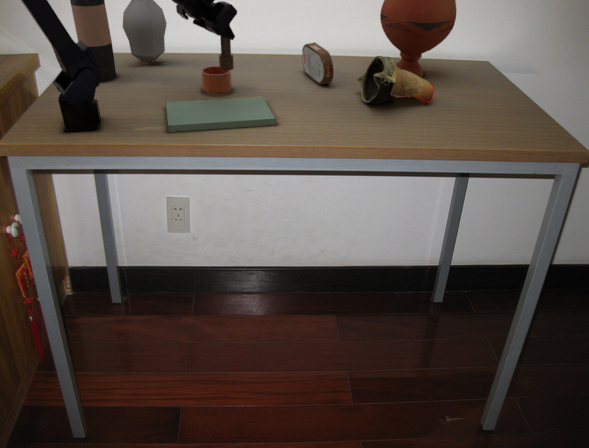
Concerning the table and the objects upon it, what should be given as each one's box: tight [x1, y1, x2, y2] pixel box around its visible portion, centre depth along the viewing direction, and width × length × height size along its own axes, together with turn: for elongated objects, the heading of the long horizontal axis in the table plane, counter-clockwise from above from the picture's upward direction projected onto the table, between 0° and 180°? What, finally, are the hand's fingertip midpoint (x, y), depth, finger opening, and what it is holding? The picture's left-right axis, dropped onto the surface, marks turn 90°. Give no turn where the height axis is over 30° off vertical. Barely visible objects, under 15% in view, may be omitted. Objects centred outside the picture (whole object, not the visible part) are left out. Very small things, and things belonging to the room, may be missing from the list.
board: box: [165, 96, 276, 133], centre depth 107 cm, size 22×13×2 cm, turn 104°
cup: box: [200, 65, 233, 95], centre depth 119 cm, size 7×7×5 cm
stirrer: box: [218, 23, 235, 71], centre depth 110 cm, size 3×3×13 cm
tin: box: [301, 42, 334, 85], centre depth 128 cm, size 15×3×8 cm, turn 22°
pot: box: [356, 55, 435, 105], centre depth 116 cm, size 17×11×18 cm
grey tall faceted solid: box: [122, 0, 168, 65], centre depth 128 cm, size 11×11×30 cm
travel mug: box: [69, 0, 117, 83], centre depth 120 cm, size 8×8×20 cm
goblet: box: [379, 0, 457, 78], centre depth 130 cm, size 19×19×25 cm
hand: (230, 37), depth 111 cm, fingers closed on stirrer, 2 cm apart
